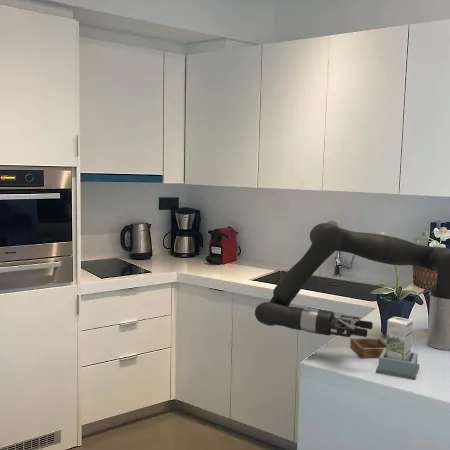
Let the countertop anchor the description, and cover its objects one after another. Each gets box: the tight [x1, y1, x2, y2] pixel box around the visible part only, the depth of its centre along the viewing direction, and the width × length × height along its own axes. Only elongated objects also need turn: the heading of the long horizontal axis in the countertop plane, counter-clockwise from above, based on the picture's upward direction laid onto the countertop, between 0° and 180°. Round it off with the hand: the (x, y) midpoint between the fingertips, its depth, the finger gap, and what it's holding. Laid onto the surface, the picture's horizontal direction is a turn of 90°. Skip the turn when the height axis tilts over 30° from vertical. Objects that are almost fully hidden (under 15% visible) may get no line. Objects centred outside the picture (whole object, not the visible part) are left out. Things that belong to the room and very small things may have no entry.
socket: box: [375, 348, 420, 381], centre depth 164 cm, size 11×11×4 cm
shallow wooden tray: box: [349, 337, 386, 359], centre depth 179 cm, size 10×10×3 cm
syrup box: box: [385, 316, 414, 362], centre depth 163 cm, size 6×6×14 cm
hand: (369, 329), depth 167 cm, fingers open, 8 cm apart
